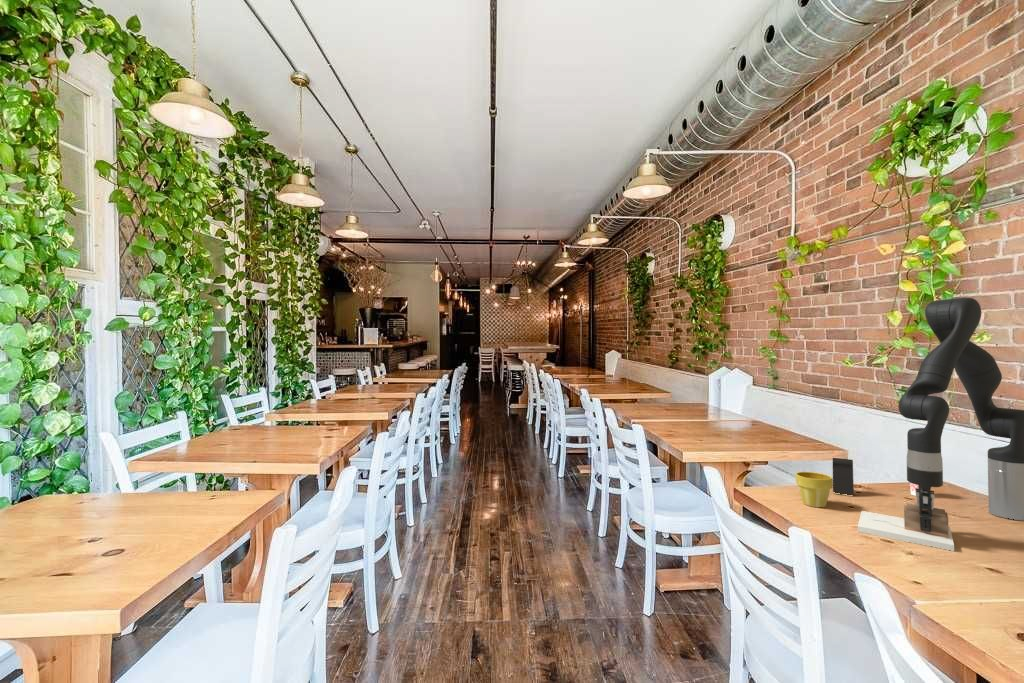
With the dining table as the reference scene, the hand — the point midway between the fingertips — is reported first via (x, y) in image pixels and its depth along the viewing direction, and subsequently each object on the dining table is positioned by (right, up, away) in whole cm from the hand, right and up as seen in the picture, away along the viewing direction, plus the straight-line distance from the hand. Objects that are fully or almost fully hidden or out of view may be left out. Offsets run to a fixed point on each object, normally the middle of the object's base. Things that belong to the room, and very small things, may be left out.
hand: (925, 527), depth 129 cm
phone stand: (+5, -3, +39) cm, 39 cm away
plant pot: (-14, -3, +26) cm, 30 cm away
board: (-4, -2, +3) cm, 5 cm away
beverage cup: (+29, -3, +35) cm, 46 cm away
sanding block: (0, -1, 0) cm, 1 cm away
